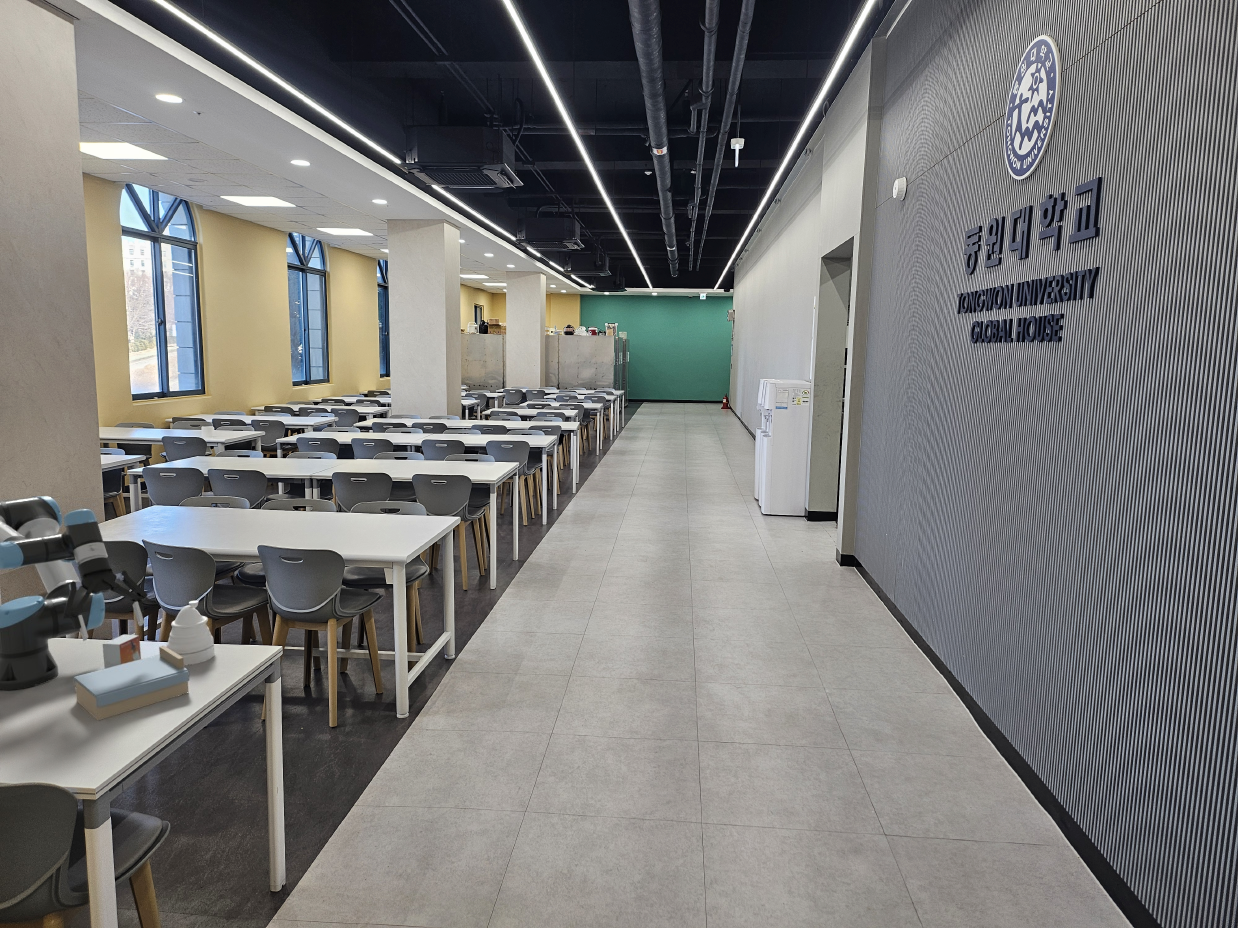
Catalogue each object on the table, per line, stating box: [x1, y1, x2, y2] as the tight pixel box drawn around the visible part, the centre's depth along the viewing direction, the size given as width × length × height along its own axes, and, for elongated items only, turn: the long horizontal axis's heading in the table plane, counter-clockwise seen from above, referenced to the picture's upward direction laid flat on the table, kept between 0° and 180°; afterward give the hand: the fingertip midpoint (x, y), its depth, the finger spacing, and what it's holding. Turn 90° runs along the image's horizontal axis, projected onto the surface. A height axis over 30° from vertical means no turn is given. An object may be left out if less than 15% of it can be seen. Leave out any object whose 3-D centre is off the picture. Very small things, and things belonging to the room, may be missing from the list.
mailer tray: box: [74, 680, 190, 721], centre depth 213 cm, size 17×22×6 cm
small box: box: [102, 634, 142, 669], centre depth 229 cm, size 8×6×10 cm
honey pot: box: [166, 600, 215, 666], centre depth 241 cm, size 13×13×18 cm
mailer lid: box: [73, 645, 190, 707], centre depth 213 cm, size 19×22×6 cm
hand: (114, 631), depth 215 cm, fingers open, 13 cm apart
